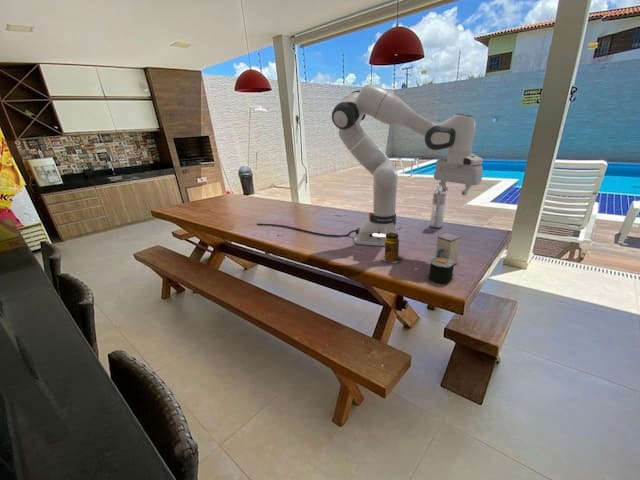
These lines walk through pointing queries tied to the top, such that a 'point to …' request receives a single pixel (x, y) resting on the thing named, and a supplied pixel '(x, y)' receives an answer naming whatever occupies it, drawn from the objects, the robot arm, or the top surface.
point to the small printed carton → (448, 247)
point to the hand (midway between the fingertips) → (454, 193)
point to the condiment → (392, 248)
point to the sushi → (441, 270)
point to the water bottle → (438, 207)
